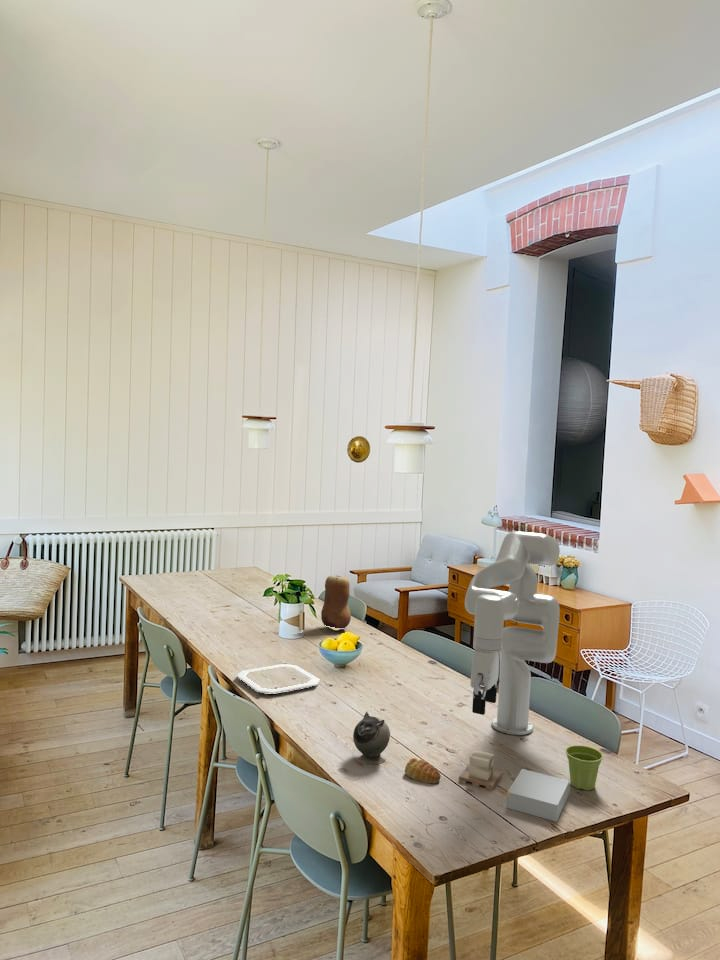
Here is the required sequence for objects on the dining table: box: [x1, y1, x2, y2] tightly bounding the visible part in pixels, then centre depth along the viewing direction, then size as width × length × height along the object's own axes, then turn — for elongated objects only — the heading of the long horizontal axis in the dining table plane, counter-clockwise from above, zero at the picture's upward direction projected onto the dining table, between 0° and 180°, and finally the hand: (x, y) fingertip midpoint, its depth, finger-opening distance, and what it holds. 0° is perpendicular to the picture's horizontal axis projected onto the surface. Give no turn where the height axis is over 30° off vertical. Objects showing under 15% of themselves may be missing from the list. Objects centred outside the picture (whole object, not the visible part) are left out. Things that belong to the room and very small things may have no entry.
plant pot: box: [564, 744, 604, 791], centre depth 186 cm, size 9×9×9 cm
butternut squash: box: [320, 574, 352, 629], centre depth 324 cm, size 14×13×25 cm
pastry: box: [404, 757, 442, 784], centre depth 187 cm, size 9×7×4 cm
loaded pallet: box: [458, 749, 504, 791], centre depth 187 cm, size 9×9×6 cm
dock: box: [506, 768, 570, 823], centre depth 176 cm, size 14×12×4 cm
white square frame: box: [236, 663, 321, 694], centre depth 253 cm, size 25×25×2 cm
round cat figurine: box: [352, 711, 391, 765], centre depth 196 cm, size 10×12×10 cm
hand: (484, 707), depth 186 cm, fingers open, 9 cm apart
